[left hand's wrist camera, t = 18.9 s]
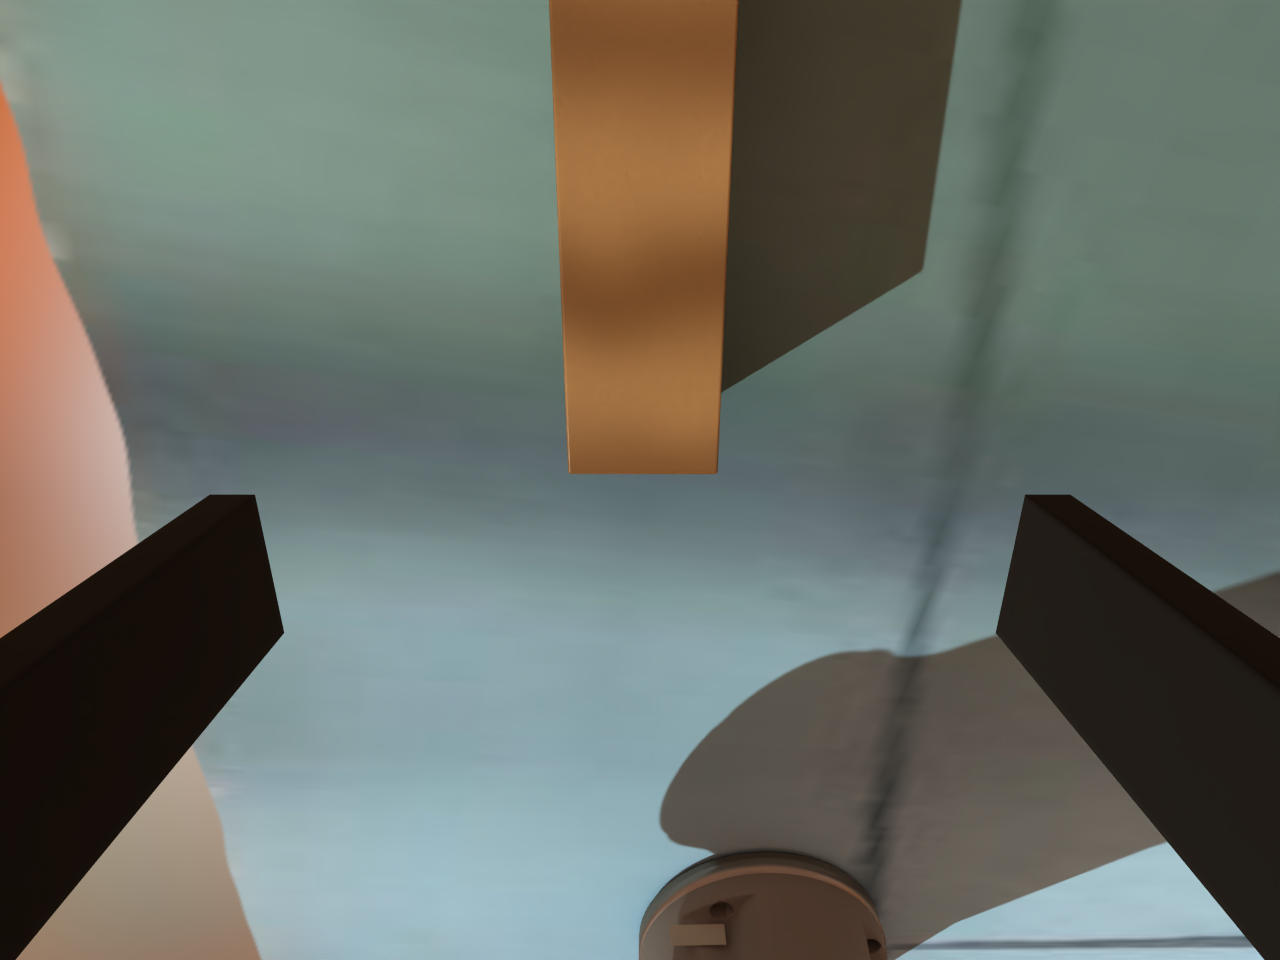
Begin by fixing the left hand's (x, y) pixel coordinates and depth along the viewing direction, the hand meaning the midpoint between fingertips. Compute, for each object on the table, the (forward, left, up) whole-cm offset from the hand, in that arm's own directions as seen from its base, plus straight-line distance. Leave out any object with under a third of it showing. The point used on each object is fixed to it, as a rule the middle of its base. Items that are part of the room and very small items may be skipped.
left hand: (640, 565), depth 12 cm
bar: (+9, +3, -20) cm, 22 cm away
